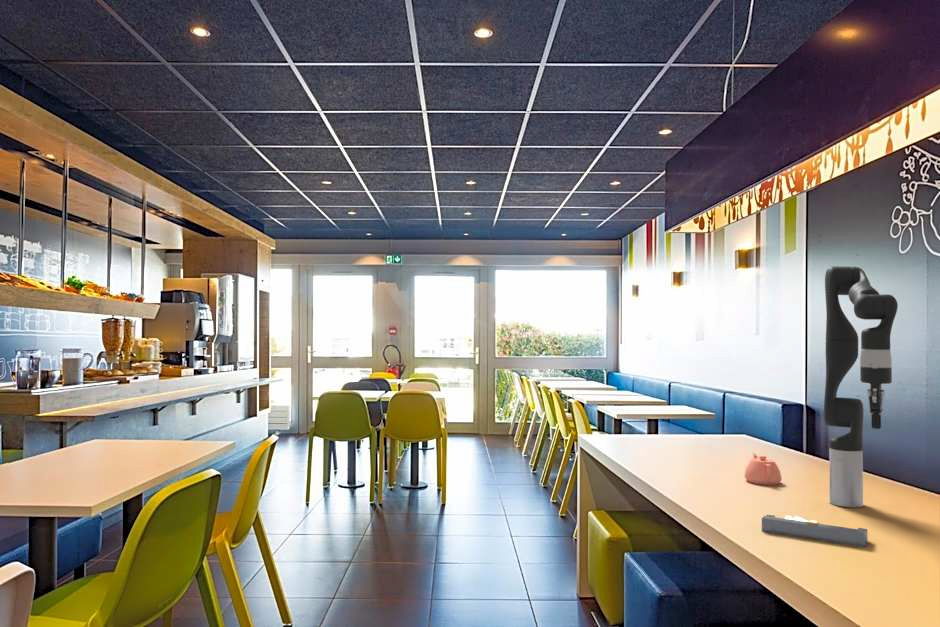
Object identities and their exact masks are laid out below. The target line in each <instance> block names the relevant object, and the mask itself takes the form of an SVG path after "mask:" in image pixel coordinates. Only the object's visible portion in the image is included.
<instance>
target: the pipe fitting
mask: <svg viewBox="0 0 940 627" xmlns="http://www.w3.org/2000/svg"><path fill="white" fill-rule="evenodd" d="M784 519H790V520H797V521H804V522H807V521H809V522H816V523H818V524H820V523H819V522H818V521H817V520H813V519H812V520H808V519H805V518H803V517H800V516H794V517H793V516H791V515H786V516H785V517H784Z"/></svg>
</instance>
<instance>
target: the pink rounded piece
mask: <svg viewBox="0 0 940 627" xmlns="http://www.w3.org/2000/svg"><path fill="white" fill-rule="evenodd" d="M752 456H753V458H751V459H750V460H749V462H748V463H747V466H746V467H745V469H744V478H745V479H746V481H747V482H748V483H750V484H755V485H760V486H776V485H779V484H780V483H781V482H782V474H781V470H780V468H779V467H778V464H777V463H776V461H775V460H773V459H769V458H767V455H759V456H758V455H757V454H756V453H755V452H752ZM758 457H759V458H758Z"/></svg>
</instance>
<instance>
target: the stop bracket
mask: <svg viewBox="0 0 940 627" xmlns="http://www.w3.org/2000/svg"><path fill="white" fill-rule="evenodd" d="M809 521H810V520H808V521H807V522H804V521H797V520H790V519H785V518H782V517H776V515H772V514H766V515H763V516H762V517H761V532H763V533H764V532H765V533H770V534H776V535H778V534H779V535H785V536H790V537H796V538H802V539H808V540H815V541H821V542H828V543H834V544H840V545H847V546H852V547H860V548H866V547H867V544H868V529H867V528H862V527H858V528H850V527H845V526H836V525H832V524H831V525H830V524H823V523H819V522H818V523H819V524H818V523H816V522H809Z"/></svg>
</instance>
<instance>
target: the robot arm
mask: <svg viewBox="0 0 940 627" xmlns="http://www.w3.org/2000/svg"><path fill="white" fill-rule="evenodd" d="M824 290H825V292H824V293H825V308H826V309H825V310H826V312H825V313H826V324H825V326H826V327H825V328H826V329H825V388H824V400H823V420H824V423H825V424H826V425H827V426H829V427H835V428H838V427H840V428H848V429H849V428H850V431H849V432H847V433H845V434H844V435H841V436H836V437H832V438H830V439H829V441H828V442H829V444H828V447H829V448H828V453H829V454H828V455H829V464H828V465H829V504H831V505H833V506H834V505H835V506H837V507H838V506H839V507H845V508H862V507H863V506H864V466H863V465H864V463H863V462H864V459H863V456H864V454H863V450H864V448H863V446H864V445H863V444H864V443H863V429H864V428H863V427H864V405H863V402H862V400H861V399H859V398H852V397H837V394H838V390H839V387H840V385H841V382H842V381H843V380H844V378H845V377H846V375H847V374H848V373H849V372H850V370H851V369H852V368H853V367H854V365H855V364H856V362H857V359H858V357H859V335H858V332H857V331H856V329H855V328H854V326H853V325H852V323H851V322H850V320H849V319H848V317H847V316H846V314H845V313H844V311H843V309H842V307H841V304H840V299H839V296H848V299H849V300H850V302H851V303H852V305H853V313H854V315H855V317H856V318H858V319H861V320H865V321H866V320H868V321H869V320H871V321H872V320H876V321H877V320H880V323H879V324H878V325H877V326H872V327H869V328H864V329H862V331H861V333H860V334H861V335H860V340H861V341H860V349H861V350H860V359H859V361H860V366H859V368H860V369H859V370H860V371H859V372H860V374H859V375H860V382H861V383H864V384H870V389H869V388H868V389H867V394H866V395H867V397H868V406H869V412H870V415H871V428H872V429H874V430H875V429H876V430H880V429H881V428H882V415H883V411H884V410H883V407H884V405H885V403H884V397H885V395H886V390H885V389H882V384H883V385H886V384H891V383H892V382H893V381H892V380H893V378H892V376H893V374H892V373H893V372H892V371H893V370H892V369H893V368H892V364H893V363H892V354H891V333H892V328H893V324H894V320H895V318H896V316H897V312H898V306H899V305H898V304H899V303H898V301H897V299H896V297H895V296H894V295H892V294H885V293H884V294H880V293H879V291H878V290H877V289H875V288H874V287H873V286H872V285H871V283H870V280H869V278H868V276H867V274H866V273H865V271H864V269H862V268H861V267H858V266H841V265H840V266H838V265H836V266H829V267H828V268H827V269H826V271H825V276H824Z"/></svg>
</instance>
